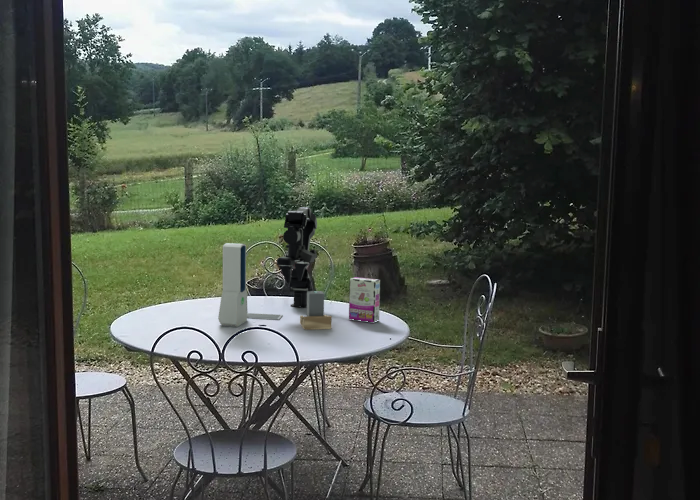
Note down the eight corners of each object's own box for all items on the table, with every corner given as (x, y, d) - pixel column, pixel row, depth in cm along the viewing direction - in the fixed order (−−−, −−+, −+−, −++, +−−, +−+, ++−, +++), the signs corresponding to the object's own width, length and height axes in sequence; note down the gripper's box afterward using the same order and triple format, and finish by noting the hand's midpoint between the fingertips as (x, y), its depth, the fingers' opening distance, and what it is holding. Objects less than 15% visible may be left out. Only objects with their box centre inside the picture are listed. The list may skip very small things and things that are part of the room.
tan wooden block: (300, 323, 282) (300, 311, 282) (326, 322, 284) (326, 310, 284) (304, 329, 273) (304, 317, 272) (331, 328, 275) (331, 316, 274)
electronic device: (236, 327, 273) (237, 246, 269) (217, 326, 274) (217, 245, 270) (248, 320, 285) (248, 242, 281) (229, 318, 287) (229, 241, 282)
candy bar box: (379, 321, 289) (381, 279, 286) (374, 323, 284) (375, 281, 282) (354, 317, 294) (355, 276, 292) (348, 320, 289) (349, 278, 287)
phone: (247, 315, 295) (247, 312, 295) (282, 317, 293) (282, 314, 293) (243, 319, 288) (243, 316, 288) (278, 321, 287) (278, 318, 286)
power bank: (306, 322, 281) (307, 290, 279) (321, 322, 282) (321, 290, 280) (308, 325, 276) (309, 293, 274) (323, 325, 277) (324, 293, 276)
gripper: (301, 244, 283) (300, 285, 285) (324, 242, 300) (323, 281, 301) (276, 243, 288) (275, 283, 289) (299, 241, 305) (298, 279, 306)
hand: (294, 281), depth 296 cm, fingers open, 9 cm apart
